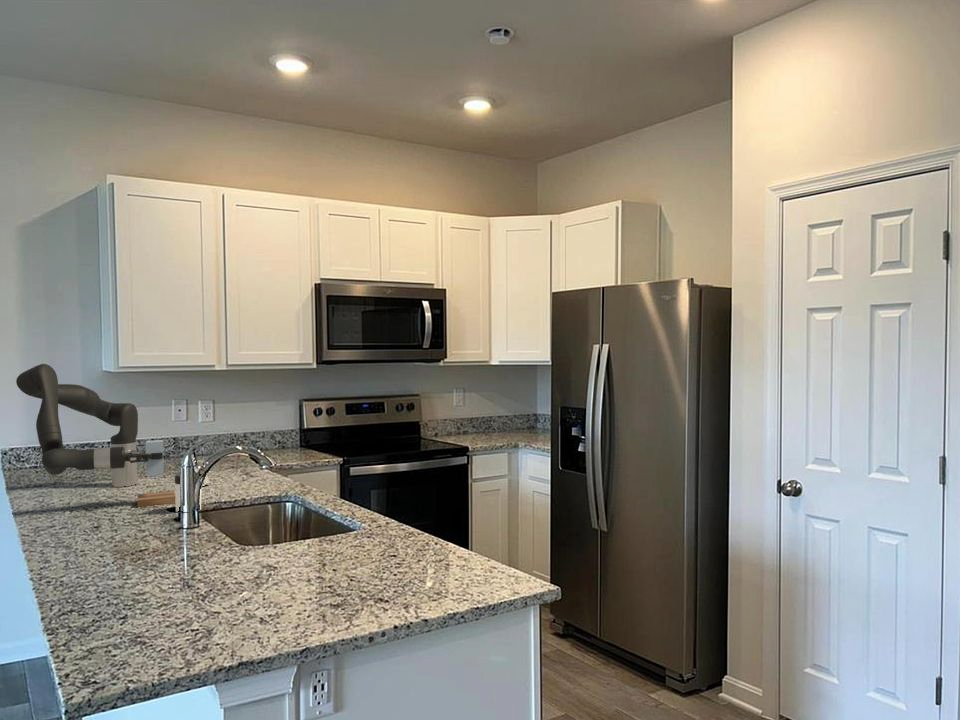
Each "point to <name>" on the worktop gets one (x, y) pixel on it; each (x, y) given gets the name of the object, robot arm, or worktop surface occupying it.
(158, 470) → the pillar
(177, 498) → the jar
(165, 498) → the slab
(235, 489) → the worktop surface
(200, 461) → the flask
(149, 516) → the worktop surface
